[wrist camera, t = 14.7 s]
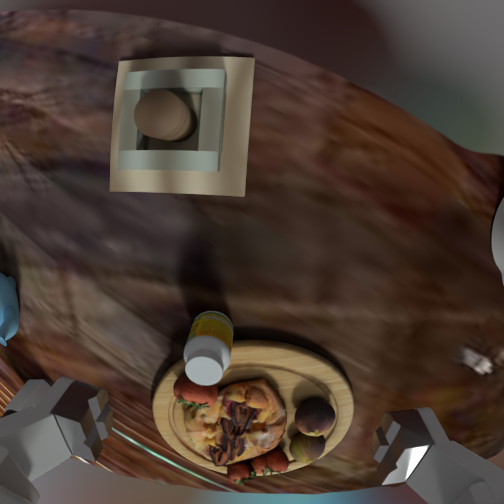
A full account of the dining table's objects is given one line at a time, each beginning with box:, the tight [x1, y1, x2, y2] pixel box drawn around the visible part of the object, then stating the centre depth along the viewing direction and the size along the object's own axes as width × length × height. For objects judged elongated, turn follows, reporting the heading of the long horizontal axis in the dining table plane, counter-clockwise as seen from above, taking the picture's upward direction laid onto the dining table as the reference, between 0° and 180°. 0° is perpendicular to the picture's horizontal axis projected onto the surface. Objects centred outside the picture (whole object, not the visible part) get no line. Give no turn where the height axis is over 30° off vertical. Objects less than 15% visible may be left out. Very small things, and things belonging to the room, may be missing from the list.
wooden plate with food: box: [152, 340, 354, 485], centre depth 42 cm, size 32×32×8 cm
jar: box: [1, 379, 51, 418], centre depth 40 cm, size 9×8×12 cm
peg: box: [134, 89, 198, 142], centre depth 29 cm, size 4×4×8 cm
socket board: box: [110, 56, 255, 197], centre depth 31 cm, size 16×16×5 cm
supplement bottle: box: [184, 311, 233, 386], centre depth 36 cm, size 5×5×10 cm
